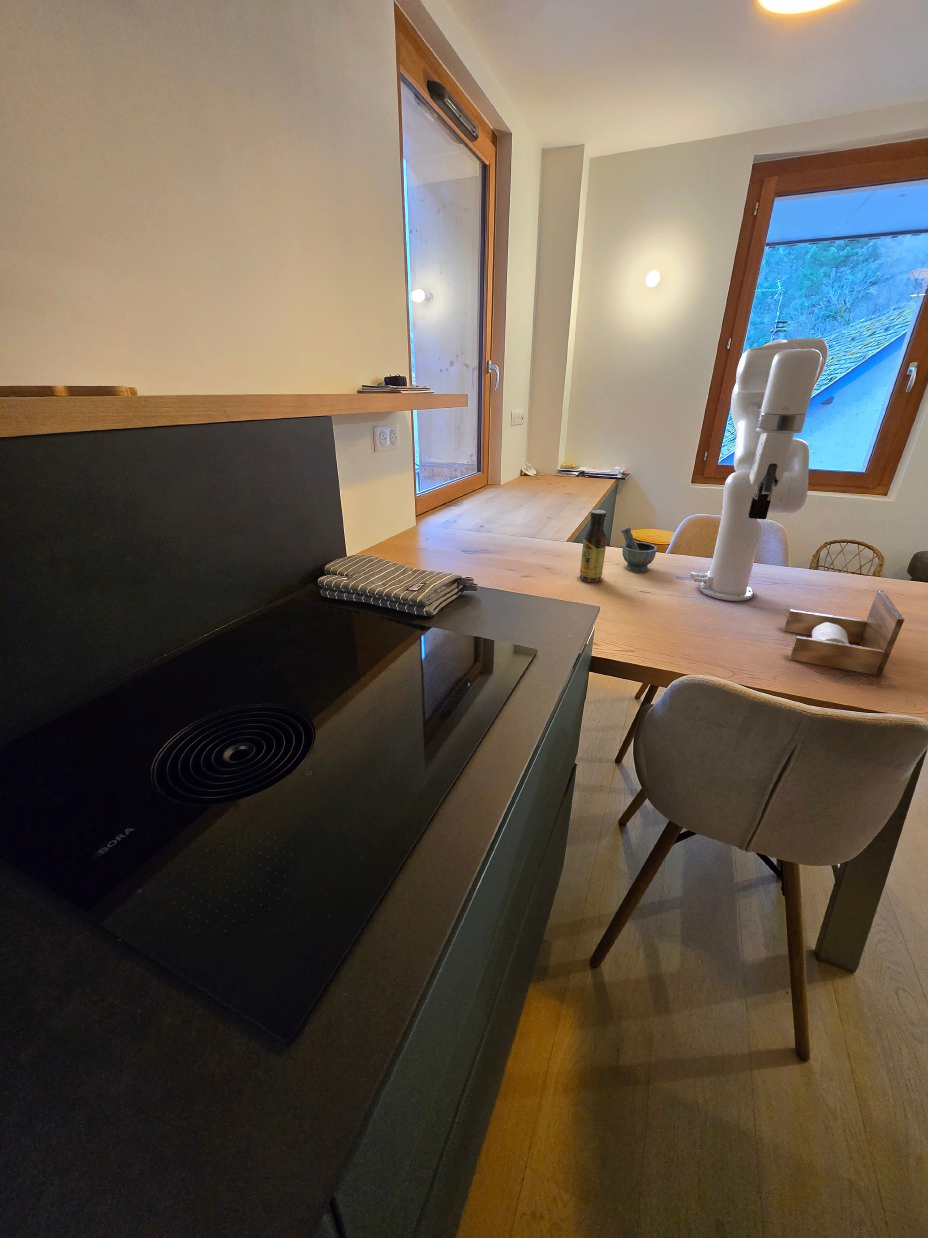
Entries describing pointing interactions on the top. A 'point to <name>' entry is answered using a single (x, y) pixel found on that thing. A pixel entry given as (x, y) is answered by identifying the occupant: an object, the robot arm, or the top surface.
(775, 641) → the top surface
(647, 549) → the mortar and pestle
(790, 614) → the u-shaped wooden enclosure
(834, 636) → the roll
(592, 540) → the sauce bottle
